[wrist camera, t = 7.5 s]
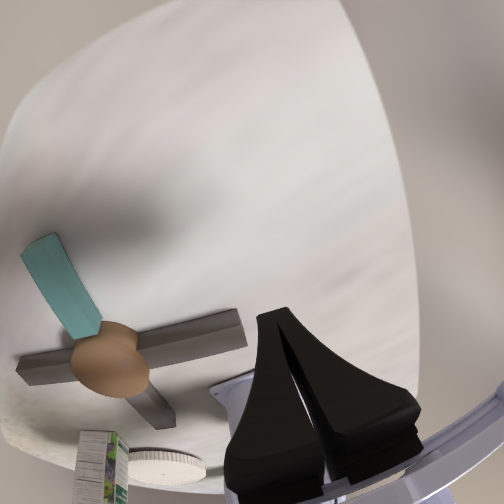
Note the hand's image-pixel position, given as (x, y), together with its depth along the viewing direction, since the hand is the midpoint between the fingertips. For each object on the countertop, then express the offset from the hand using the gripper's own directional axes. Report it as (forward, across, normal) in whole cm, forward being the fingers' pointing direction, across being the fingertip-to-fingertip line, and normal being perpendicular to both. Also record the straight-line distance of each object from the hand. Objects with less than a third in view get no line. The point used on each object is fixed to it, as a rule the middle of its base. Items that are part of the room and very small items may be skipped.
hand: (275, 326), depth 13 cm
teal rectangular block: (+9, +14, -1) cm, 17 cm away
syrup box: (+10, +26, +25) cm, 37 cm away
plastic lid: (+10, +22, +35) cm, 42 cm away
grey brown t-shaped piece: (+9, +14, +12) cm, 20 cm away
